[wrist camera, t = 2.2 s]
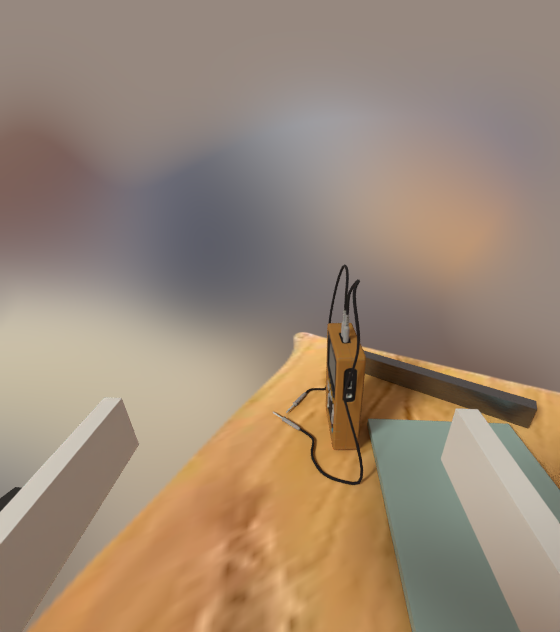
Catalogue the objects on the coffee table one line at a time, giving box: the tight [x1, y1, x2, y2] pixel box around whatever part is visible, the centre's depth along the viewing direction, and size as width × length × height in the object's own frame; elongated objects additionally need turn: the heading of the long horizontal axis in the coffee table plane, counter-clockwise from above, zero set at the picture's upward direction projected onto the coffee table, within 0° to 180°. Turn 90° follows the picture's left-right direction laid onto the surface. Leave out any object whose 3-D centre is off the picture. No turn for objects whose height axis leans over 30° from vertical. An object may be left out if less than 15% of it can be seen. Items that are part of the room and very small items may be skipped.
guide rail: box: [364, 351, 537, 428], centre depth 40 cm, size 22×2×3 cm, turn 55°
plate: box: [367, 419, 560, 632], centre depth 26 cm, size 16×20×1 cm
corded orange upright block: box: [273, 265, 366, 485], centre depth 31 cm, size 15×10×20 cm
